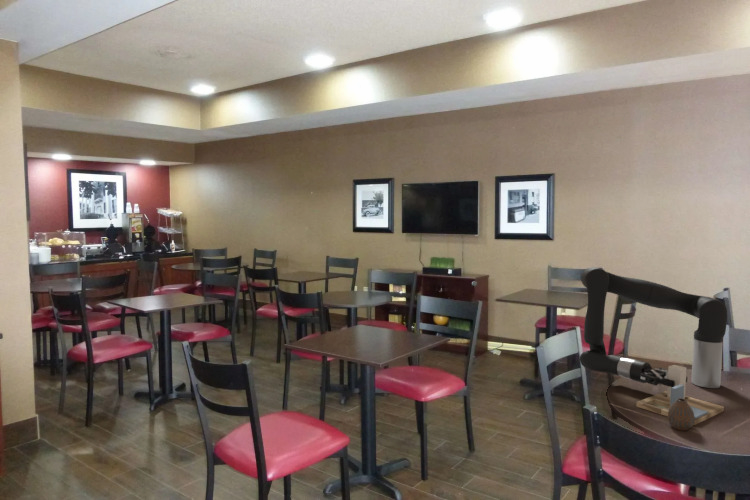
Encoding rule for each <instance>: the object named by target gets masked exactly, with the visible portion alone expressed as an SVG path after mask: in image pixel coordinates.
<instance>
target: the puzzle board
mask: <svg viewBox="0 0 750 500" xmlns="http://www.w3.org/2000/svg"><path fill="white" fill-rule="evenodd" d="M670 400H671V398H667V390H665V391H662V392H660V393H657V394H654V395H652V396H649V397H646V398H644V399H641V400H638V401H636V407H637V408H640V409H643V410H646V411H650V412H651V413H656V414H659V415H662V416H665V417H668V411H669V408H670ZM685 400H687V403H688V404H689V406H691V407H695V408H698V409H701V410H705V411H708V413H707V414H705V415H703V416H701V417H699V418H696V419H694V424H693V426H695V425H698V424H700V423H702V422H704V421H706V420H708V419H710V418H713V417H715V416H716V415H718V414H721V413H723V412H724V407H725V406H723V405H720V404H715V403H712V402H709V401H705V400H701V399H698V398H695V397H691V396H687V395H685Z"/></svg>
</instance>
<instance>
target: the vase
mask: <svg viewBox="0 0 750 500" xmlns="http://www.w3.org/2000/svg"><path fill="white" fill-rule="evenodd" d="M667 419H668V423H669V424H670V425H671V426H672V427H673V428H674V429H676V430H677V431H678V430H679V431H688V430H691V428H692V427H693V426H694V425H693V424H694V419H695V417H694V412H693V410H692V408H691V407H690V406H689V404H688V403H687V400H685V399H682V398H678V399H677V400H676V402H675V403H673V404H672V405H671V406H670V408H669V411H668V416H667Z"/></svg>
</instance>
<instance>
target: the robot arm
mask: <svg viewBox="0 0 750 500" xmlns="http://www.w3.org/2000/svg"><path fill="white" fill-rule="evenodd" d="M580 281H581V284H582V285H583V286H584V287H585V288H586V291H587V306H586V307H587V308H586V312H585V318H584V328H583V341H584V342H585V343H586V344H587V345H589V350H585V351H583V352H582V353H581V354H580V355H579V362H580V363H579V364H581V366H582V367H583V368H585V369H587V370H590V371H596V372H603V373H610V374H612V375H616V376H619V377H622V378H625V379H628V380H631V381H635V382H638V383H642V384H650V385H653V386H658V385H659V386H666V387H667V386H669V387H674V386H675V381H673V380H670V379H668V368H662V367H659V368H652V365H651V364H650V363H649V362H646V361H643V360H640V359H639V360H638V359H634V358H631V357H623V356H620V355H614V354H607V351H606V345H605V342H604V335H605V334H604V333H605V332H604V330H605V327H604V326H605V308H606V307H605V306H606V299H607V294H608V293H611V294H614V295H617V296H619V297H622V298H625V299H627V300H630V301H632V302H636V303H637V304H641V305H644V306H649V307H652V308H656V309H663V310H672V311H678V312H681V313H683V314H684V313H685V314H687V315H690V316H692V317H695V318H697V319H698V327H697V329H695V330H694V332H693V345H692V346H693V347H692V361H691V362H692V364H691V366H692V367H691V379H690V380H691V381H690V382H691V383H692V385H695V386H698V387H701V388H706V389H719V388H720V387H721V379H722V378H721V377H722V361H723V360H722V358H723V341H724V337H725V335H726V331H727V321H728V310H727V309H728V308H727V306H726V304H725V303H723V302H722V301H721V300H719V299H716V298H714V297H712V296H711V297H710V296H704V295H697V294H691V293H687V292H682V291H679V290H677V289H675V288H672V287H670V286H667V285H663V284H661V283H656V282H653V281H649V280H645V279H640V278H635V277H634V278H633V277H627V276H621V275H616V274H615V273H610V272H608V271H606V270H605V269H603V268H601V267H595V266H591V267H588V268H586V269H585V270H583V271H582V273H581V275H580ZM686 383H688V376H687V375H686Z"/></svg>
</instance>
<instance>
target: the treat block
mask: <svg viewBox="0 0 750 500" xmlns="http://www.w3.org/2000/svg"><path fill="white" fill-rule="evenodd" d="M667 369H668V379H670V380H673V381H675V386H677V385H680V384H681V385H684V399H685V396H686V383H687V382H686V376H687V367H686V366H681V365H677V364H672V365H669V366H668V368H667ZM666 388H667V390H666V391H667V398H671V388H672V387H669V386H666Z"/></svg>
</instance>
